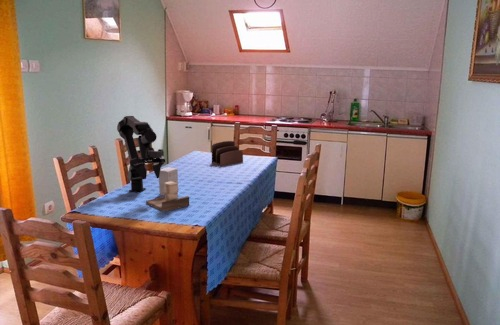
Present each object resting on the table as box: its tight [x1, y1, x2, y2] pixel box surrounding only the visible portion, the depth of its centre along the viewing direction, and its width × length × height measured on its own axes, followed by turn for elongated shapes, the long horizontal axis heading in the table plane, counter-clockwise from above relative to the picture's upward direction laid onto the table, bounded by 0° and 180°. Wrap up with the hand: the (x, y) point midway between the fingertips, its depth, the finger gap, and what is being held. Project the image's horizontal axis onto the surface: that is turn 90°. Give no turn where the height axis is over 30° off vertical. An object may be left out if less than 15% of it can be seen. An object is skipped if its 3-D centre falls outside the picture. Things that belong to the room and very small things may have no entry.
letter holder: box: [211, 140, 244, 167], centre depth 289 cm, size 10×20×14 cm, turn 132°
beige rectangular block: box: [164, 181, 179, 201], centre depth 201 cm, size 5×4×10 cm
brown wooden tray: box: [145, 195, 190, 213], centre depth 204 cm, size 16×14×4 cm
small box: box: [158, 166, 179, 196], centre depth 220 cm, size 8×6×13 cm
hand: (151, 178), depth 206 cm, fingers open, 9 cm apart
